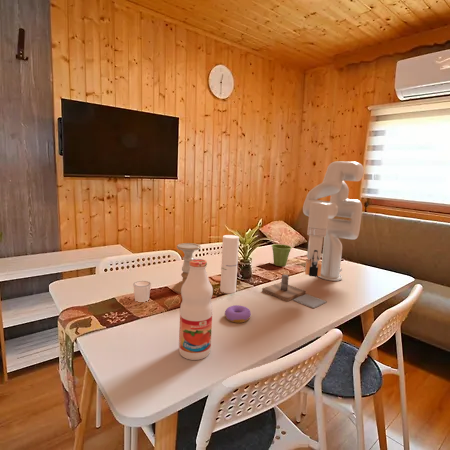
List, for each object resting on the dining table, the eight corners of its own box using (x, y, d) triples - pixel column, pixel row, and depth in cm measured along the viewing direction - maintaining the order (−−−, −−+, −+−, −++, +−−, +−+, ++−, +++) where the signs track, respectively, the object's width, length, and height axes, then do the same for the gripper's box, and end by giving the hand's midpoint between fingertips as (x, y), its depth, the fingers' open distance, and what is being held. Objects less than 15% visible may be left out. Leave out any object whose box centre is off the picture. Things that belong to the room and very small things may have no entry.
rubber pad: (306, 295, 144) (306, 294, 144) (326, 302, 137) (326, 301, 137) (293, 300, 137) (293, 299, 137) (313, 308, 130) (313, 307, 130)
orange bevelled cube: (304, 270, 138) (306, 259, 137) (319, 272, 137) (320, 260, 136) (305, 274, 132) (306, 262, 132) (320, 276, 131) (321, 264, 130)
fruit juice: (204, 341, 101) (207, 255, 96) (215, 357, 93) (219, 264, 88) (175, 346, 97) (177, 257, 93) (184, 363, 89) (187, 267, 84)
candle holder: (206, 289, 144) (208, 246, 141) (185, 296, 135) (187, 250, 132) (188, 282, 153) (190, 241, 149) (167, 288, 144) (168, 244, 140)
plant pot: (291, 268, 184) (293, 249, 182) (271, 267, 184) (272, 248, 182) (288, 262, 196) (289, 244, 194) (268, 261, 196) (270, 243, 194)
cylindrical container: (234, 294, 141) (237, 238, 137) (218, 292, 142) (221, 237, 138) (237, 288, 148) (240, 235, 144) (222, 286, 149) (224, 234, 145)
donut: (234, 309, 125) (237, 298, 124) (253, 321, 120) (256, 310, 118) (218, 317, 118) (221, 305, 116) (237, 330, 112) (240, 319, 111)
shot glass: (153, 298, 132) (154, 282, 131) (144, 304, 126) (144, 287, 124) (139, 295, 134) (139, 279, 133) (129, 301, 128) (129, 284, 127)
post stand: (280, 285, 155) (282, 268, 154) (305, 294, 145) (307, 276, 144) (262, 291, 146) (263, 274, 144) (287, 301, 136) (288, 283, 134)
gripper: (306, 227, 141) (302, 267, 144) (308, 234, 124) (303, 279, 127) (324, 229, 139) (320, 269, 142) (328, 236, 123) (323, 281, 126)
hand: (312, 273), depth 135 cm, fingers closed on orange bevelled cube, 6 cm apart
